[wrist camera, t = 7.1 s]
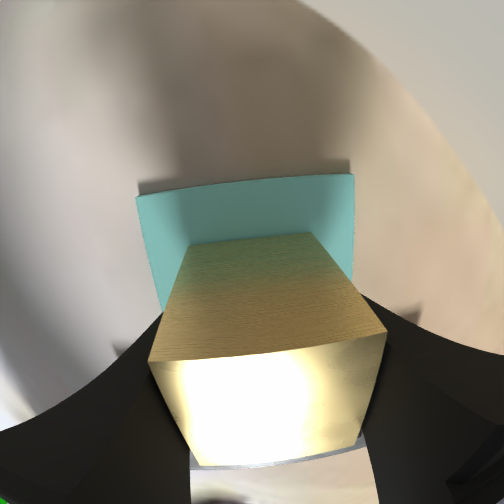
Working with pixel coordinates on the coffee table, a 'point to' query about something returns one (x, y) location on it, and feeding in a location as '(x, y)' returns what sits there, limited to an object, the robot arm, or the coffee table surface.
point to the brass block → (266, 351)
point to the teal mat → (246, 218)
